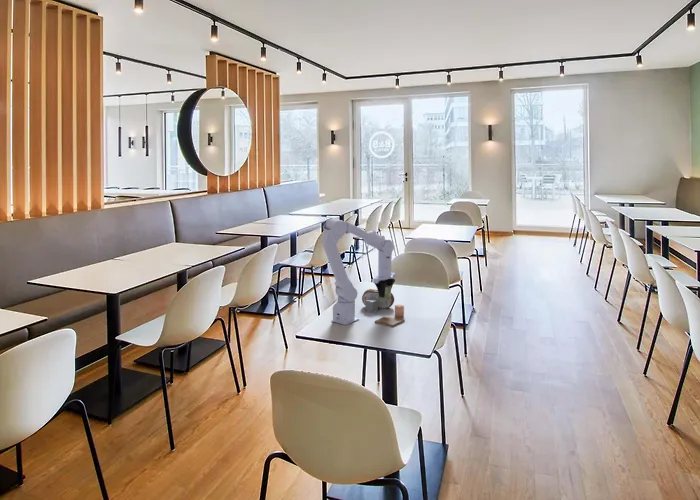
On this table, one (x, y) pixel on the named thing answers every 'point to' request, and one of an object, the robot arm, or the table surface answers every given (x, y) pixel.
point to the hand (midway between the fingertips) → (384, 295)
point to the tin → (374, 295)
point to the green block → (386, 294)
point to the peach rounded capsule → (399, 311)
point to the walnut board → (389, 321)
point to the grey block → (371, 305)
